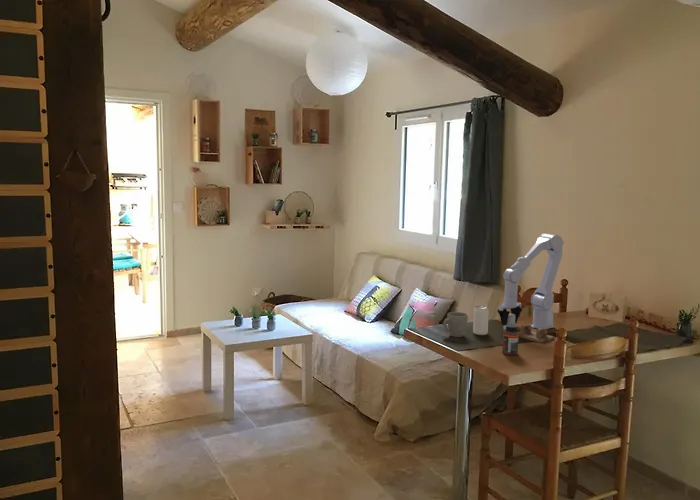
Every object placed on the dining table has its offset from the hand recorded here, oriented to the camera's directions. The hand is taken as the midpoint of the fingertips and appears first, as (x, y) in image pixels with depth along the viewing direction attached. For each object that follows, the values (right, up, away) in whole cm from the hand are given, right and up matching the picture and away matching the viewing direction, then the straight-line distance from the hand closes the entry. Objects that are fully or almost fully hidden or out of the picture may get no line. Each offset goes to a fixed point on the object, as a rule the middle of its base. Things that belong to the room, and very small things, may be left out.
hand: (509, 324), depth 278 cm
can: (-15, -3, -8) cm, 17 cm away
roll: (0, -3, 0) cm, 3 cm away
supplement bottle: (-10, -7, -38) cm, 40 cm away
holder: (+7, -4, -13) cm, 15 cm away
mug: (-28, -4, -13) cm, 31 cm away
